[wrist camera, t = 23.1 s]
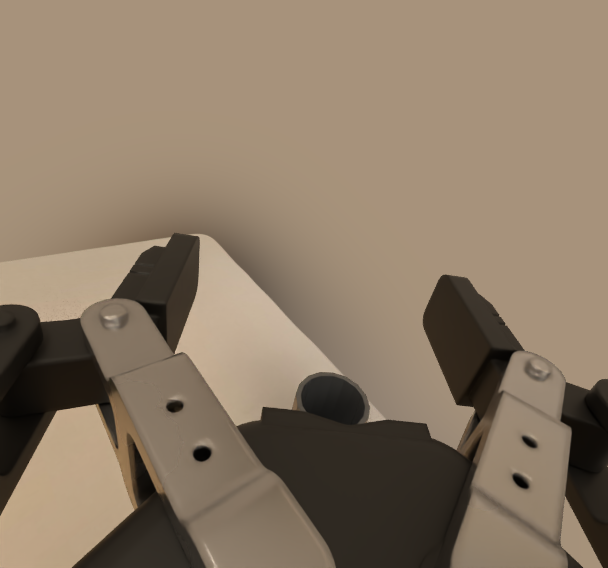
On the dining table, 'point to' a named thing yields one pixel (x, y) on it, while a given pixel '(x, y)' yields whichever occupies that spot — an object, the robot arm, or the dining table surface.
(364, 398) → the holder
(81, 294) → the dining table surface
